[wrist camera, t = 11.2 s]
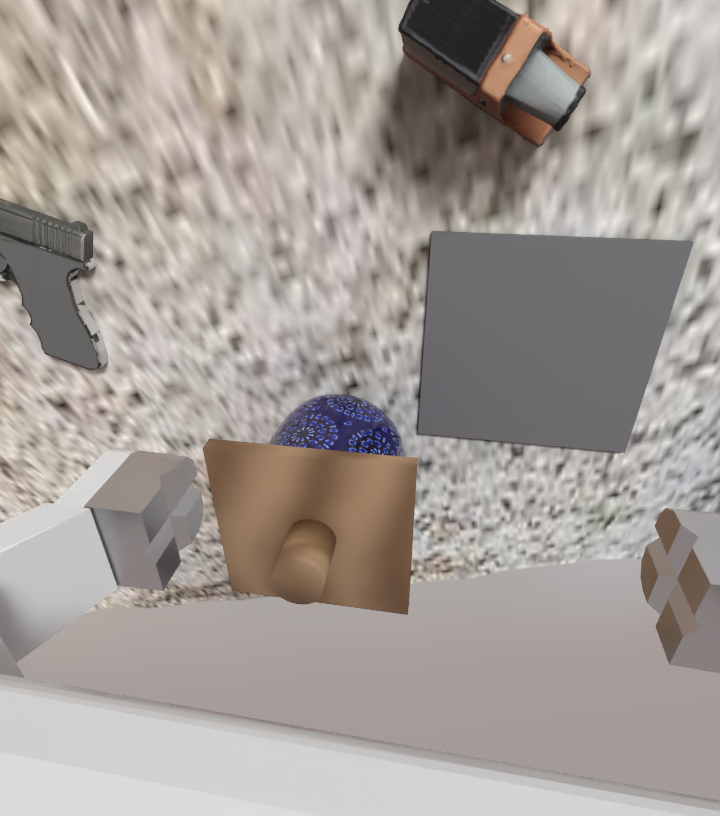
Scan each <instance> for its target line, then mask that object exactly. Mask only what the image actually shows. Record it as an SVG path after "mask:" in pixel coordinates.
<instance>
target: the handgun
mask: <svg viewBox="0 0 720 816" xmlns="http://www.w3.org/2000/svg"><path fill="white" fill-rule="evenodd" d="M92 257H93V231H90V230H88V228H87V226H86V224H85V223H82V222H79V221H76V222H73V223H68V222H65V221H62V220H59V219H57V218H54V217H51V216H48V215H45V214H43V213H40V212H37V211H34V210H31V209H28V208H26V207H23V206H20V205H17V204H14V203H12V202H9V201H6V200H3V199H0V281H8V280H11V281H14V282H15V283H17V284H18V287H19V291H20V293H21V296H22V306H23V307H24V308H25V309H26V310H27V311H28V312H29V314H30V317H31V323H30V326H31V327H32V328H33V329H34V330H35V331H36V333H37V334H38V336H39V338H40V341H41V346H42V349H43V351H44V353H45V354H47V355H50V356H52V357H55V358H58V359H61V360H64V361H67V362H70V363H72V364H75V365H78V366H81V367H84V368H87V369H90V370H97V369H100V368H101V367H103V366H104V365H105V364H106V363H108V355H107V350H106V346H105V344H104V341H103V339H102V336H101V334H100V332H99V330H98V328H97V326H96V324H95V322H94V321H93V319H92V317H91V316H90V314H89V312H88V310H87V307H86V305H85V302H84V300H83V296H82V293H81V289H80V285H79V282H78V272H79V270H86V271H89V270H91V269H93V268H95V267H96V262H95V260H94V259H93V258H92ZM8 268H9V271H8V272H7V271H5V270H7V269H8Z"/></svg>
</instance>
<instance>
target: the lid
mask: <svg viewBox="0 0 720 816" xmlns="http://www.w3.org/2000/svg"><path fill="white" fill-rule="evenodd" d="M203 452H204V456H205V461H206V466H207V471H208V476H209V481H210V486H211V491H212V495H213V500H214V505H215V510H216V515H217V520H218V525H219V530H220V534H221V539H222V544H223V549H224V554H225V559H226V564H227V569H228V573H229V578H230V583H231V588H232V591H238V592H245V593H253V594H260V595H267V596H275V597H281V598H283V599H285V600H287V601H289V602H292V603H296V604H310V603H313V602H319V603H326V604H333V605H341V606H349V607H355V608H363V609H370V610H378V611H385V612H392V613H399V614H408V606H409V591H410V575H411V558H412V542H413V525H414V508H415V491H416V474H417V458H411V457H400V456H389V455H378V454H367V453H357V452H346V451H335V450H324V449H313V448H303V447H292V446H281V445H270V444H260V443H249V442H238V441H227V440H216V439H209V440H208V442H207V443H206V444H205V446H204V447H203Z"/></svg>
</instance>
